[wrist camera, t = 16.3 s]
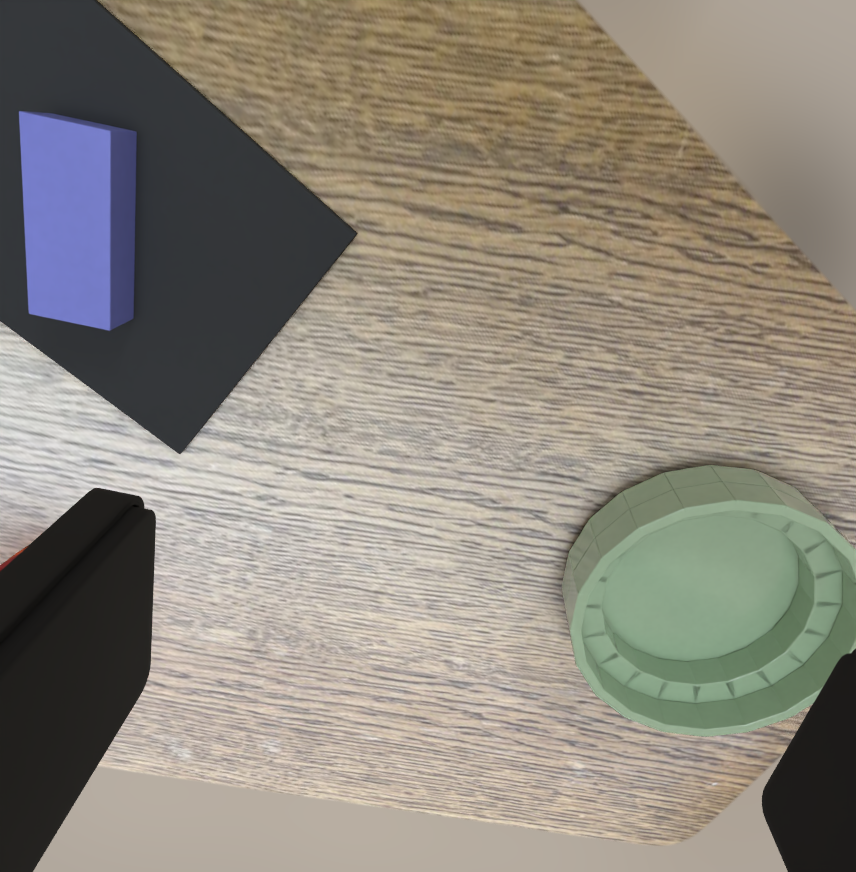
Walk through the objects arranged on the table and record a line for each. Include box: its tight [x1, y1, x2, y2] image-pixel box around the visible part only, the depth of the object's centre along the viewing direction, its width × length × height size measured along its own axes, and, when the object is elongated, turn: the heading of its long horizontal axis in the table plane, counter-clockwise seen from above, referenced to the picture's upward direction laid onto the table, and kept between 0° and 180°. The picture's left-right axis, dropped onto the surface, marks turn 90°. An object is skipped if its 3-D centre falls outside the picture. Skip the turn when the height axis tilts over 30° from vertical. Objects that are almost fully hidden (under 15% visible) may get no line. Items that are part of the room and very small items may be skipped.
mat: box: [0, 0, 357, 454], centre depth 33 cm, size 16×20×1 cm
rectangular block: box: [19, 111, 137, 331], centre depth 32 cm, size 9×4×2 cm, turn 169°
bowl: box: [562, 465, 856, 737], centre depth 37 cm, size 15×15×4 cm
